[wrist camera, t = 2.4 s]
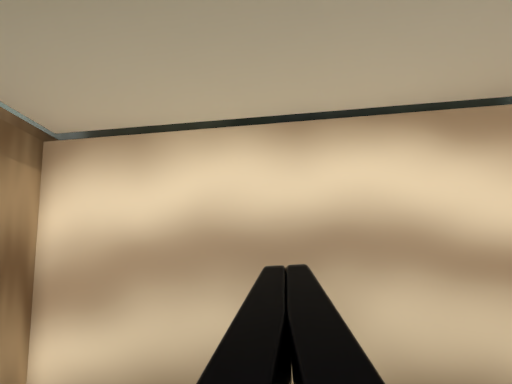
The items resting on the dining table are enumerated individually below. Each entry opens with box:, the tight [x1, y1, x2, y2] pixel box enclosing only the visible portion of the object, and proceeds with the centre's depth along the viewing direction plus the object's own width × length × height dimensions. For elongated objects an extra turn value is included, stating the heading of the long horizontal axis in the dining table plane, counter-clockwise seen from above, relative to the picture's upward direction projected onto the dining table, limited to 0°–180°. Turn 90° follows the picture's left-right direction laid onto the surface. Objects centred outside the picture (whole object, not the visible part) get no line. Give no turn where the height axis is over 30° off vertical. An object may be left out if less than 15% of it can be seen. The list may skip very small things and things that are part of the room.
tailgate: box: [0, 0, 512, 134], centre depth 13 cm, size 2×22×12 cm, turn 93°
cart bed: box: [0, 104, 512, 384], centre depth 13 cm, size 14×26×13 cm, turn 93°
